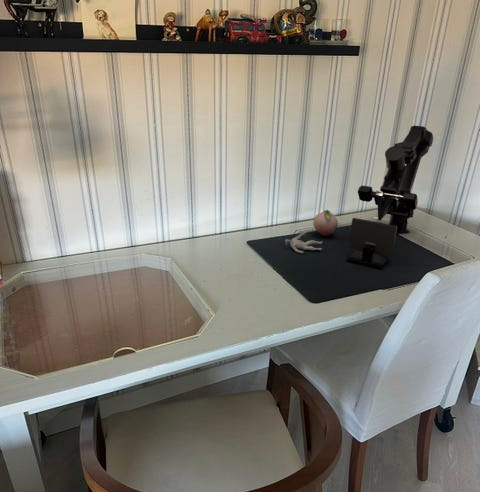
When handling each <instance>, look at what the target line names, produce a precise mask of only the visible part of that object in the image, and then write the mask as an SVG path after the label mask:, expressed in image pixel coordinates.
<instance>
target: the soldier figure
mask: <svg viewBox="0 0 480 492" xmlns="http://www.w3.org/2000/svg"><path fill="white" fill-rule="evenodd" d="M305 234H307V232H304V231H303V232H302V233H300V234H299V235H297V236H295V237H293V238H292V239H289V238H285V241H284V243H285V246H288V245H289V244H290V247H291V248H292V249H293V251H294V252H296V253H299V254H304V251H319V252H321V251H323V248H322V247H314V246H311V245H323V240H322V241H316V240H314V239H312V240H311V239H310V240H308V241H306V242H305V241H302V240H301V239H300V238H301V237H302V236H303V235H305ZM299 249H300V250H299Z"/></svg>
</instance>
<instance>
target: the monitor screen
mask: <svg viewBox="0 0 480 492" xmlns="http://www.w3.org/2000/svg"><path fill="white" fill-rule="evenodd" d="M396 231H397V226H394V225H389V223H384V222H378V221H372V220H367V219H361V218H357V217H353V218H351V225H350V233H349V240H348V241H349V243H348V248H349V249H352V250H355V251H356V250H358V251H362V252H363V247H364V246H365V245H367V246H371V247H375V250H374V254H376V255H380V256H385V257H389V258H392V257H393V255H394V247H395V243H396V242H395V241H396V236H397V234H396Z"/></svg>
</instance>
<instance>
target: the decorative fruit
mask: <svg viewBox="0 0 480 492" xmlns="http://www.w3.org/2000/svg"><path fill="white" fill-rule="evenodd" d="M338 224H339V222H338V219H337V217H336V216H335V215H334V214H333V212H331V211H330V210H329V209H324V210H323V211H322V212H319V213H317V214H316V215H315V217H314V218H313V227H314V230H315V231H316V232H318V233H319V234H320V235H322V236H324V237H327V236H329V235H332V234H333V233H335V231H336V230H337V228H338V226H339V225H338Z"/></svg>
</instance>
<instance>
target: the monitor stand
mask: <svg viewBox="0 0 480 492" xmlns="http://www.w3.org/2000/svg"><path fill="white" fill-rule="evenodd" d="M374 250H375V247H371V246H367V245H365V246H364V247H363V251H361V250H356V249H355V251H354V252H352V253H351V254H350V256H348V257H347V259H346V260H347V263H351V264H356V265H359V266H364V267H367V268H373V269H375V270H376V269H377V270H382V269H383V268H385V266H386V264H387V263H388V262H389V259H390V257H388V256H383V255H379V254H374Z"/></svg>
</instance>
